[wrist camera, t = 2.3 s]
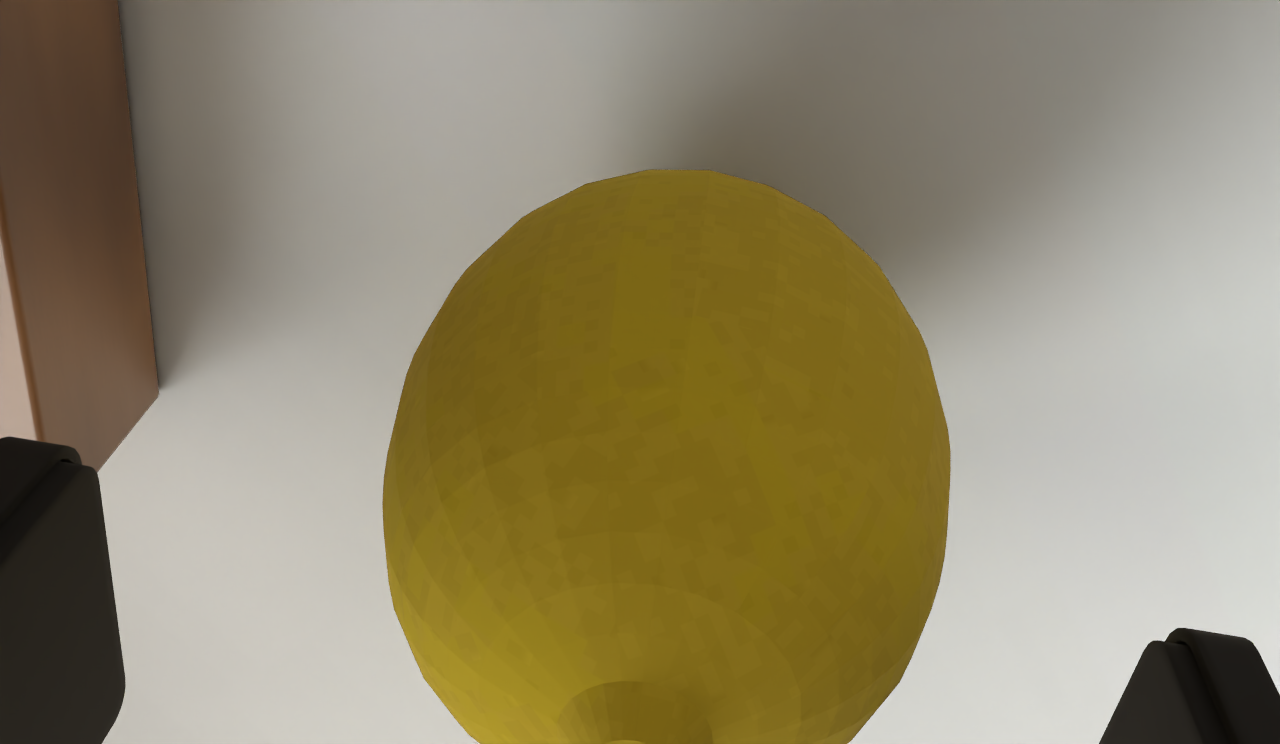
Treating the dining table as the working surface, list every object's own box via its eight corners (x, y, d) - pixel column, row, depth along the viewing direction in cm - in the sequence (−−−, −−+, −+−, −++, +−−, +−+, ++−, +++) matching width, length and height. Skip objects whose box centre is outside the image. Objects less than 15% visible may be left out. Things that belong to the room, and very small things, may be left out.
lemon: (989, 326, 16) (1153, 866, 9) (650, 510, 18) (571, 1058, 11) (746, -26, 14) (718, 325, 7) (395, 229, 16) (106, 690, 9)
